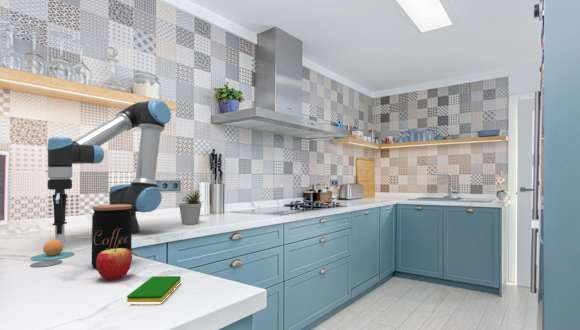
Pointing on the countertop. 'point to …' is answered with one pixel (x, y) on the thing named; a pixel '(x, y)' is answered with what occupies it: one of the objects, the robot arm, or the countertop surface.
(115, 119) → the robot arm
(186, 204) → the potted plant
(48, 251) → the ball
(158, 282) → the dish sponge
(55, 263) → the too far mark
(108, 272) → the apple
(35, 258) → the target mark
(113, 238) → the coffee jar
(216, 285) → the countertop surface
